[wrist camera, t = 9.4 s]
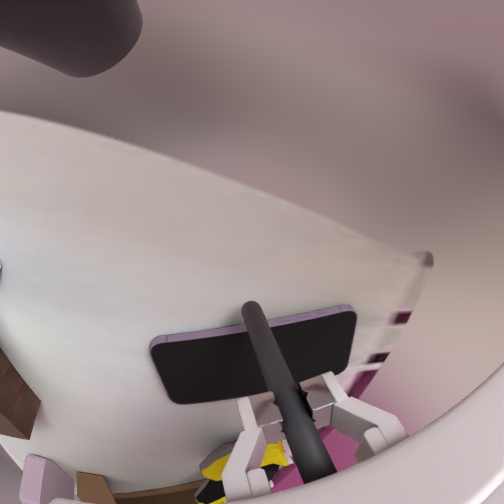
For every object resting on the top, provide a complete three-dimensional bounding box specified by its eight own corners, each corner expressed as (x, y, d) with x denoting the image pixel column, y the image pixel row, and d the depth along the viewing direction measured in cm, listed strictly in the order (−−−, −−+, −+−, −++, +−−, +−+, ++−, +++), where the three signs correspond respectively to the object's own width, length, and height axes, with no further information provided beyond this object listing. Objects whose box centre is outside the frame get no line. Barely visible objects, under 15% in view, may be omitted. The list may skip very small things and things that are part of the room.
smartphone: (144, 342, 17) (360, 305, 19) (146, 332, 18) (352, 298, 20) (172, 406, 20) (346, 372, 22) (172, 396, 20) (341, 364, 23)
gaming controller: (190, 476, 28) (260, 472, 30) (195, 509, 23) (269, 502, 25) (196, 427, 22) (292, 421, 25) (203, 474, 17) (309, 462, 20)
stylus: (237, 299, 17) (329, 541, 4) (258, 294, 17) (370, 524, 4) (240, 316, 17) (325, 543, 5) (260, 311, 17) (362, 528, 5)
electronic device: (23, 449, 21) (14, 500, 12) (46, 455, 22) (39, 510, 13) (53, 475, 25) (49, 520, 16) (75, 480, 26) (73, 527, 17)
